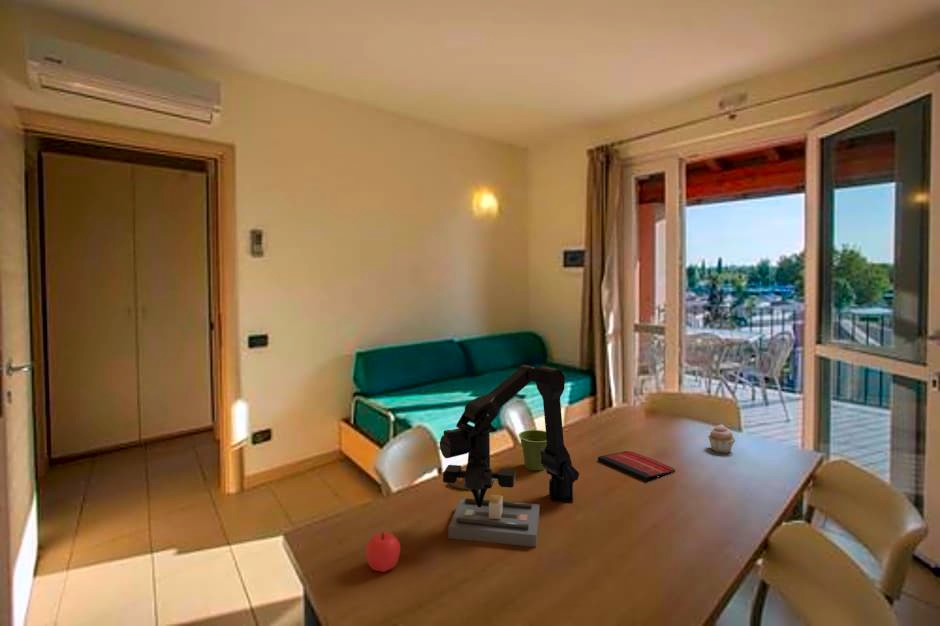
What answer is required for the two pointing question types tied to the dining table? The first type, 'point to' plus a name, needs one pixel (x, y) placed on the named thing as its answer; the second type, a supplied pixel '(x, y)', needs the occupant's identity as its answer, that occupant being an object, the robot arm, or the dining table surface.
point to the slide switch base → (496, 523)
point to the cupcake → (721, 439)
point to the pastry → (459, 483)
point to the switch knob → (495, 506)
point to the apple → (383, 551)
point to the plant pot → (533, 448)
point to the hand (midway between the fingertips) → (479, 506)
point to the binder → (636, 465)
